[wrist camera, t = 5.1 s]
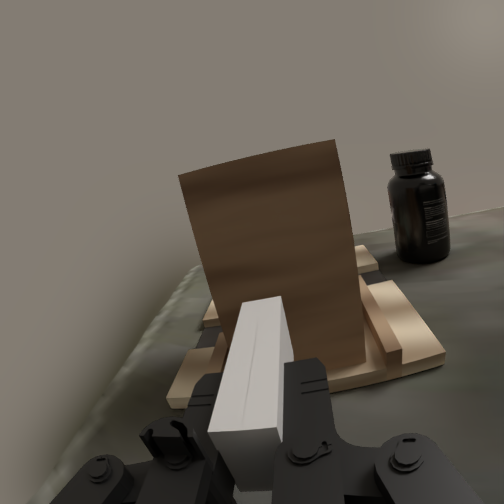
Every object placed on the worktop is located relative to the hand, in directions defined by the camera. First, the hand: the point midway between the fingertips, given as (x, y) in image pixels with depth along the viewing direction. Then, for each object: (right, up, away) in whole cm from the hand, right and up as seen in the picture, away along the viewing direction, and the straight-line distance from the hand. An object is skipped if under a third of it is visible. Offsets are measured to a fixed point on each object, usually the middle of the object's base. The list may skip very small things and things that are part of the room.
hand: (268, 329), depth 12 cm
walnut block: (+3, -3, +10) cm, 11 cm away
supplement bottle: (+19, +3, +21) cm, 29 cm away
